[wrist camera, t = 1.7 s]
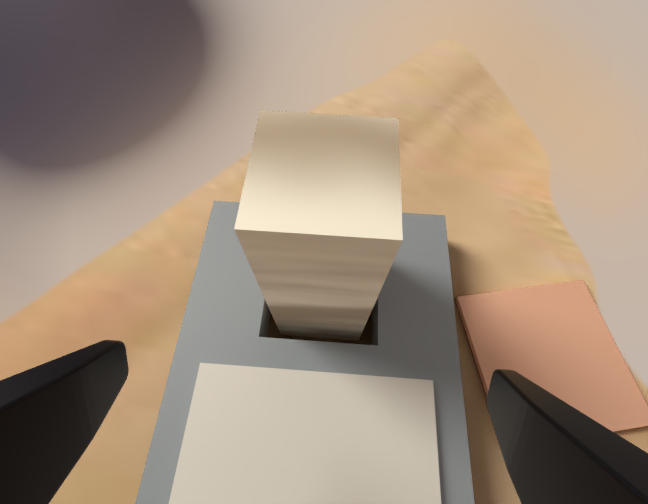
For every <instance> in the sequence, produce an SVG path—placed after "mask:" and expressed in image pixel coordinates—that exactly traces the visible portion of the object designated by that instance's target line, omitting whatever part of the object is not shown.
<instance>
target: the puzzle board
mask: <svg viewBox="0 0 648 504" xmlns="http://www.w3.org/2000/svg"><path fill="white" fill-rule="evenodd" d="M239 204H240V203H239V202H223V201H214V203H213V207H212V211H211V214H210V218H209V222H208V226H207V230H206V234H205V238H204V241H203V245H202V249H201V253H200V257H199V261H198V265H197V268H196V272H195V276H194V280H193V284H192V288H191V291H190V295H189V299H188V303H187V307H186V311H185V315H184V318H183V322H182V326H181V330H180V334H179V338H178V342H177V345H176V349H175V353H174V357H173V361H172V365H171V369H170V372H169V376H168V380H167V384H166V388H165V392H164V395H163V399H162V403H161V407H160V411H159V415H158V419H157V422H156V426H155V430H154V434H153V438H152V442H151V446H150V449H149V453H148V457H147V461H146V465H145V469H144V472H143V476H142V480H141V484H140V488H139V492H138V496H137V499H136V503H135V504H475V503H474V493H473V484H472V474H471V464H470V455H469V445H468V435H467V425H466V416H465V406H464V396H463V386H462V377H461V367H460V357H459V348H458V338H457V328H456V318H455V309H454V299H453V289H452V279H451V270H450V260H449V250H448V241H447V231H446V221H445V216H444V215H429V214H413V213H402V232H403V241H402V243H401V245H400V248H399V250H398V252H397V255H396V257H395V259H394V261H393V264H392V266H391V268H390V270H389V273H388V275H387V277H386V280H385V282H384V284H383V286H382V289H381V291H380V293H379V295H378V298H377V300H376V302H375V304H374V307H373V309H372V345H363V344H349V343H335V342H322V341H308V340H294V339H281V338H267V335H268V328H269V321H270V314H271V312H270V310H269V307H268V305H267V303H266V301H265V298H264V296H263V294H262V291H261V289H260V287H259V285H258V282H257V280H256V278H255V275H254V273H253V271H252V269H251V266H250V264H249V262H248V260H247V257H246V255H245V253H244V250H243V248H242V246H241V244H240V241H239V239H238V237H237V235H236V232H235V230H234V227H235V223H236V218H237V214H238V209H239Z"/></svg>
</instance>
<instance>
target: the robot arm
mask: <svg viewBox="0 0 648 504" xmlns="http://www.w3.org/2000/svg"><path fill="white" fill-rule="evenodd" d="M127 376H128V362H127V355H126V349H125V345H124V343H123V342H121V341H115V340H103V341H101V342H98V343H96V344H93V345H90V346H88V347H85V348H83V349H80V350H78V351H75V352H73V353H70V354H67V355H65V356H62V357H60V358H57V359H55V360H52V361H49V362H47V363H44V364H42V365H39V366H37V367H34V368H32V369H29V370H26V371H24V372H21V373H19V374H16V375H14V376H11V377H8V378H6V379H3V380H1V381H0V504H49V502H50V501H51V499H52V498H53V496H54V495H55V494H56V492H57V491H58V489H59V488H60V486H61V485H62V483H63V482H64V480H65V479H66V478H67V476H68V475H69V473H70V472H71V470H72V469H73V467H74V466H75V464H76V463H77V462H78V460H79V459H80V457H81V456H82V454H83V453H84V451H85V450H86V448H87V447H88V445H89V444H90V442H91V441H92V439H93V438H94V436H95V434H96V433H97V431H98V429H99V428H100V426H101V424H102V422H103V420H104V419H105V417H106V415H107V413H108V411H109V410H110V408H111V406H112V404H113V403H114V401H115V399H116V397H117V395H118V394H119V392H120V390H121V388H122V386H123V385H124V383H125V381H126V379H127ZM487 407H488V411H489V414H490V417H491V420H492V423H493V426H494V430H495V433H496V436H497V439H498V442H499V445H500V448H501V452H502V455H503V458H504V461H505V464H506V467H507V470H508V472H509V475H510V477H511V480H512V482H513V485H514V487H515V489H516V492H517V494H518V496H519V499H520V501H521V503H522V504H648V453H646V452H645V451H643V450H642V449H640V448H638V447H637V446H635V445H633V444H632V443H630V442H629V441H627V440H625V439H624V438H622V437H621V436H619V435H617V434H616V433H614V432H613V431H611V430H609V429H608V428H606V427H604V426H603V425H601V424H600V423H598V422H596V421H595V420H593V419H592V418H590V417H588V416H587V415H585V414H584V413H582V412H580V411H579V410H577V409H575V408H574V407H572V406H571V405H569V404H567V403H566V402H564V401H563V400H561V399H559V398H558V397H556V396H555V395H553V394H551V393H550V392H548V391H547V390H545V389H543V388H542V387H540V386H538V385H537V384H535V383H534V382H532V381H530V380H529V379H527V378H526V377H524V376H522V375H521V374H519V373H518V372H516V371H514V370H508V369H496V370H494V372H493V374H492V378H491V382H490V386H489V390H488V394H487Z"/></svg>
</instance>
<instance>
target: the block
mask: <svg viewBox="0 0 648 504" xmlns="http://www.w3.org/2000/svg"><path fill="white" fill-rule="evenodd" d="M234 230H235V232H236V235H237V237H238V239H239V241H240V244H241V246H242V248H243V250H244V253H245V255H246V257H247V260H248V262H249V264H250V266H251V269H252V271H253V273H254V275H255V278H256V280H257V282H258V285H259V287H260V289H261V291H262V294H263V296H264V298H265V301H266V303H267V305H268V307H269V310H270V312H271V314H272V316H273V319H274V321H275V323H276V326H277V328H278V330H279V332H280V335H288V336H302V337H316V338H329V339H343V340H357V341H359V338H360V336H361V334H362V332H363V329H364V327H365V325H366V323H367V320H368V318H369V316H370V314H371V311H372V309H373V307H374V304H375V302H376V300H377V298H378V295H379V293H380V291H381V289H382V286H383V284H384V282H385V280H386V277H387V275H388V273H389V270H390V268H391V266H392V264H393V261H394V259H395V257H396V255H397V252H398V250H399V248H400V245H401V243H402V241H403V232H402V204H401V177H400V149H399V122H398V118H385V117H367V116H350V115H332V114H315V113H296V112H280V111H262V110H260V113H259V117H258V122H257V127H256V132H255V136H254V141H253V145H252V149H251V154H250V159H249V163H248V168H247V172H246V177H245V181H244V186H243V191H242V195H241V200H240V204H239V209H238V214H237V218H236V223H235V227H234Z"/></svg>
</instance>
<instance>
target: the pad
mask: <svg viewBox="0 0 648 504" xmlns="http://www.w3.org/2000/svg"><path fill="white" fill-rule="evenodd" d="M455 300H456V303H457V306H458V310H459V313H460V316H461V319H462V322H463V325H464V328H465V331H466V334H467V337H468V340H469V343H470V346H471V350H472V353H473V356H474V359H475V362H476V365H477V368H478V371H479V374H480V377H481V380H482V383H483V387H484V390H485V393H486V396H487V394H488V390H489V386H490V382H491V378H492V374H493V372H494V370H496V369H508V370H514V371H516V372H518V373H519V374H521V375H522V376H524V377H526V378H527V379H529V380H530V381H532V382H534V383H535V384H537V385H538V386H540V387H542V388H543V389H545V390H547V391H548V392H550V393H551V394H553V395H555V396H556V397H558V398H559V399H561V400H563V401H564V402H566V403H567V404H569V405H571V406H572V407H574V408H575V409H577V410H579V411H580V412H582V413H584V414H585V415H587V416H588V417H590V418H592V419H593V420H595V421H596V422H598V423H600V424H601V425H603V426H604V427H606V428H608V429H609V430H611V431H613V432H614V431H620V430H626V429H632V428H638V427H644V426H648V405H647V403H646V401H645V400H644V398H643V396H642V394H641V392H640V390H639V388H638V386H637V384H636V382H635V380H634V378H633V376H632V374H631V372H630V370H629V368H628V366H627V364H626V362H625V361H624V359H623V357H622V355H621V353H620V351H619V349H618V347H617V345H616V343H615V341H614V339H613V337H612V335H611V333H610V331H609V329H608V327H607V325H606V324H605V322H604V320H603V318H602V316H601V314H600V312H599V310H598V308H597V306H596V304H595V302H594V300H593V298H592V296H591V294H590V292H589V290H588V288H587V286H586V285H585V283H584V281H583V280H578V281H571V282H563V283H556V284H548V285H541V286H533V287H526V288H519V289H511V290H504V291H496V292H489V293H481V294H474V295H466V296H459V297H456V298H455Z"/></svg>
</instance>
